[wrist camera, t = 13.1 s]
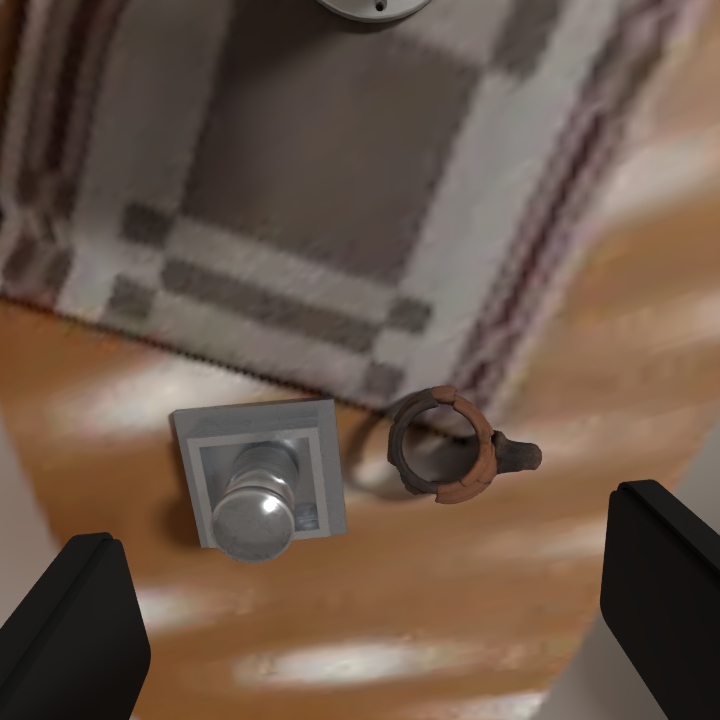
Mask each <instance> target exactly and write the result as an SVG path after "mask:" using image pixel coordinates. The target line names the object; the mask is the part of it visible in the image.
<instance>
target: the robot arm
mask: <svg viewBox="0 0 720 720" xmlns="http://www.w3.org/2000/svg"><path fill="white" fill-rule="evenodd" d="M316 1H317V2H319V3H320V4H322V5H323V6H324V7H326V8H327V9H329V10H330V11H331V12H334V13H336V14H338V15H340V16H343V17H345V18H347V19H351V20H356V21H360V22H365V23H382V22H388V21H393V20H397V19H401V18H404V17H406V16H408V15H410V14H412V13H414V12H416V11H418V10H420V9H421V8H422V7H424V6H425V5H426V4H427V3H429V2H430V1H431V0H316ZM376 5H381V6H382V7H383V10H382V11H377V10H376ZM600 607H601V612H602V615H603V618H604V620H605V622H606V624H607V625H608V627H609V628H610V630H611V631H612V633H613V635H614V636H615V638H616V639H617V641H618V642H619V644H620V645H621V647H622V648H623V650H624V652H625V653H626V655H627V656H628V658H629V659H630V661H631V662H632V664H633V665H634V667H635V668H636V670H637V672H638V673H639V675H640V676H641V678H642V679H643V681H644V682H645V684H646V686H647V687H648V688H649V690H650V692H651V693H652V695H653V696H654V698H655V699H656V701H657V702H658V704H659V706H660V707H661V709H662V710H663V712H664V713H665V715H666V716H667V718H668V719H669V720H720V535H718V534H717V533H716V532H715V531H714V530H713V529H712V528H710V527H709V526H708V525H707V524H706V523H705V522H703V521H702V520H701V519H700V518H699V517H698V516H696V515H695V514H694V513H693V512H692V511H691V510H690V509H688V508H687V507H686V506H685V505H684V504H682V503H681V502H680V501H679V500H678V499H677V498H676V497H675V496H673V495H672V494H671V493H670V492H669V491H668V490H666V489H665V488H664V487H663V486H662V485H661V484H659V483H658V482H657V481H655V480H650V479H649V480H639V481H629V482H622V483H620V484H619V486H618V488H617V491H613V492H612V493H611V494H610V498H609V509H608V520H607V530H606V541H605V552H604V563H603V573H602V584H601V595H600ZM150 660H151V650H150V645H149V641H148V637H147V634H146V630H145V626H144V623H143V619H142V615H141V612H140V608H139V604H138V601H137V597H136V593H135V589H134V586H133V582H132V578H131V575H130V571H129V567H128V564H127V560H126V556H125V553H124V549H123V545H122V543H121V541H120V540H118V539H114V540H113V537H112V536H111V535H110V534H109V533H107V532H103V533H93V534H83V535H76V536H73V537H72V538H71V539H70V540H69V541H68V543H67V544H66V545H65V546H64V548H63V549H62V550H61V552H60V553H59V554H58V555H57V557H56V558H55V559H54V561H53V562H52V563H51V564H50V566H49V567H48V568H47V570H46V571H45V572H44V573H43V575H42V576H41V577H40V579H39V580H38V581H37V582H36V584H35V585H34V586H33V588H32V589H31V590H30V591H29V593H28V594H27V595H26V596H25V598H24V599H23V600H22V602H21V603H20V604H19V606H18V607H17V608H16V609H15V611H14V612H13V613H12V615H11V616H10V617H9V618H8V620H7V621H6V622H5V623H4V625H3V626H2V628H1V629H0V720H129V719H130V716H131V713H132V711H133V708H134V706H135V703H136V701H137V698H138V696H139V693H140V691H141V688H142V685H143V683H144V680H145V678H146V675H147V673H148V670H149V666H150Z"/></svg>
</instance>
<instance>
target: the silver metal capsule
mask: <svg viewBox="0 0 720 720" xmlns="http://www.w3.org/2000/svg"><path fill="white" fill-rule="evenodd" d="M297 482H298V472H297V468H296V466H295V464H294V462H293V461H292V459H291V458H290V457H289V456H288V455H287V454H285V453H284V452H282V451H280V450H278V449H275V448H271V447H257V448H253V449H250V450H248V451H246V452H244V453H243V454H242V455H240V456H239V457H238V458H237V460H236V461H235V463H234V465H233V468H232V470H231V473H230V476H229V479H228V481H227V484H226V487H225V489H224V492H223V495H222V498H221V499H220V500H219V502H218V503H217V505H216V506H215V509H214V511H213V514H212V517H211V520H210V533H211V537H212V539H213V541H214V543H215V545H216V546H217V547H218V548H219V550H220V551H222V552H223V553H224V554H225V555H227V556H228V557H230V558H232V559H235V560H237V561H241V562H246V563H260V562H265V561H269V560H271V559H274V558H276V557H278V556H279V555H280V554H282V553H283V552H284V551H285V550H286V549H287V548H288V547H289V545H290V543H291V542H292V539H293V536H294V531H295V515H294V507H295V499H296V490H297Z"/></svg>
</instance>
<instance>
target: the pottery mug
mask: <svg viewBox="0 0 720 720" xmlns="http://www.w3.org/2000/svg"><path fill="white" fill-rule="evenodd" d="M455 392H457V388H456V387H452V386H437V387H433V388H432V389H425V390H423V391H422V392H420V393H419V394H417V395H416V396H414V397H413V398H412V399H410V400H409V401H408V402H407V403H406V404H405V405H404V406H403V407H402V408H401V409H400V411H399V412H398V413H397V415H396V416H395V418H394V420H395V423H394V424H393V425H392V426H391V428H390V432H389V440H388V454H387V458H388V462H390V463H391V464H392V465H394V466H396V467H397V469H398V470H399V472H400V473H401V474H400V477H401V480H402V482H403V483H404V484H405V488H406V489H407V490H408V491H409V492H411V493H412V494H414V495H417V494H425V493H432V494H437V497H436V499H435V502H437V503H442V504H456V503H460V502H463V501H466V500H469V499H471V498H473V497H475V496H476V495H478V494H479V493H481V492H482V491H484V490H485V489H486V488H487V487H488V486H489V485H490V484H491V482H492V480H493V478H494V477H495V476H496V475H497V474H501V473H507V472H519V471H522V470H536V469H537V468H538V467H539V465H540V464H541V461H542V452H541V450H540V449H539V447H538V446H537V445H535V444H532V443H523V442H515V441H511V440H508V439H507V438H506V437H505V435H504V434H503V433H502V432H501V431H500V432H499V431H496V430H493V429H492V427H491V426H490V424H489V422H488V421H487V420H486V418H485V417H484V415H483V414H482V413H481V412H480V411H479V410H478V409H477V408H476V407H475V406H474V405H473V404H472V403H471V402H469V401H468V400H466V399H465V398H463V397H461V396H459V395H455ZM439 404H447V405H451V406H453V409H454V410H455V411H457V412H459V413H460V414H462V415H463V416H464V417H466V418H467V419H468V420H469V422H470V423H471V424H472V426H473V428H474V430H475V432H476V435H477V440H478V453H477V456H476V460H475V462H474V464H473V465H472V467H471V468H470V470H469V471H468V472H467V473H466V474H465V475H463V476H462V477H461V478H459V479H457V480H454V481H451V482H447V483H440V482H435V481H432V482H428V481H426V480H423V479H421V478H420V477H418V476H417V475H416V474H415V473H414V472H413V471H412V470H411V469H410V468H409V467H408V465H407V464H406V462H405V459H404V456H403V451H402V440H403V435H404V432H405V430H406V428H407V426H408V425H409V423H410V422H411V421H412V420H413V419H414V418H415V417H416V416H417V415H418V414H420V413H421V412H423V411H425V410H428V409H431V408H436V407H438V406H439ZM490 437H491V440H490Z"/></svg>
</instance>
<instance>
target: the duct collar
mask: <svg viewBox="0 0 720 720" xmlns="http://www.w3.org/2000/svg"><path fill="white" fill-rule="evenodd" d="M173 416H174V421H175V426H176V431H177V435H178V440H179V445H180V449H181V454H182V459H183V464H184V468H185V473H186V478H187V482H188V487H189V492H190V497H191V501H192V506H193V511H194V515H195V520H196V525H197V530H198V534H199V539H200V544H201V548H204V547H209V548H216V547H217V546H216V545H215V543H214V541H213V539H212V537H211V533H210V520H211V517H212V514H213V511H214V509H215V506H216V505H217V503H218V502H219V500H220V499H221V498H222V495H223V492H224V489H225V487H226V484H227V481H228V479H229V476H230V473H231V470H232V468H233V465H234V463H235V461H236V460H237V458H238V457H239V456H240V455H242V454H243V453H244V452H246V451H248V450H250V449H253V448H257V447H271V448H275V449H278V450H280V451H282V452H284V453H285V454H287V455H288V456H289V457H290V458H291V459H292V461H293V462H294V464H295V466H296V468H297V472H298V482H297V490H296V499H295V507H294V515H295V531H294V536H293V539H292V540H297V539H308V538H318V537H328V536H330V535H336V534H346V533H347V522H346V513H345V503H344V493H343V483H342V473H341V463H340V453H339V443H338V433H337V423H336V413H335V403H334V396H323V397H312V398H301V399H290V400H279V401H268V402H257V403H246V404H235V405H224V406H213V407H202V408H191V409H180V410H176V411H175V412H174V413H173Z"/></svg>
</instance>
